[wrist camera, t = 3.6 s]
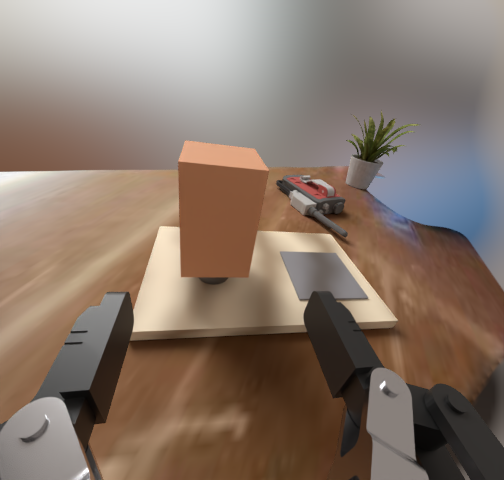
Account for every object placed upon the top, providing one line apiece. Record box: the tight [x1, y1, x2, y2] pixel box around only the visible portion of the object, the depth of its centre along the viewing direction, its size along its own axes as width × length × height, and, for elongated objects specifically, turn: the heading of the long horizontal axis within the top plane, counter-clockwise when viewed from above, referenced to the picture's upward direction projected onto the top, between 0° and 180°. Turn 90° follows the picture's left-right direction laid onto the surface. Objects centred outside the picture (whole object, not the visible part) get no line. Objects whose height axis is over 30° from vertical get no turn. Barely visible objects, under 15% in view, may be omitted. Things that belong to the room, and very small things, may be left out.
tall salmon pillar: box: [178, 141, 269, 278], centre depth 19 cm, size 5×5×9 cm
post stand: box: [130, 226, 398, 341], centre depth 22 cm, size 22×14×11 cm, turn 99°
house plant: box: [346, 113, 418, 189], centre depth 52 cm, size 14×14×16 cm
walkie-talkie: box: [276, 175, 348, 237], centre depth 41 cm, size 9×4×20 cm
